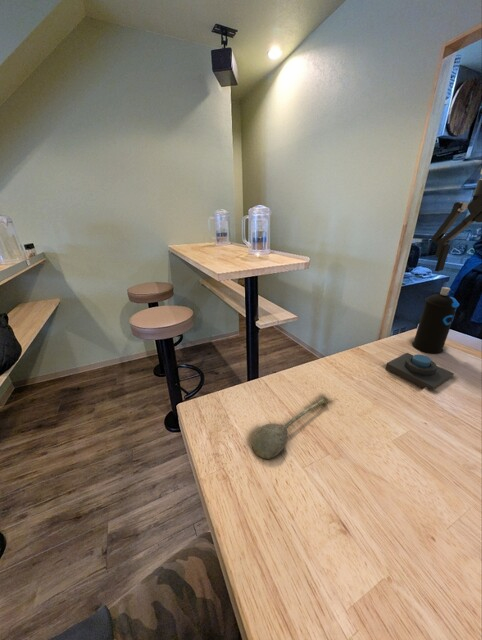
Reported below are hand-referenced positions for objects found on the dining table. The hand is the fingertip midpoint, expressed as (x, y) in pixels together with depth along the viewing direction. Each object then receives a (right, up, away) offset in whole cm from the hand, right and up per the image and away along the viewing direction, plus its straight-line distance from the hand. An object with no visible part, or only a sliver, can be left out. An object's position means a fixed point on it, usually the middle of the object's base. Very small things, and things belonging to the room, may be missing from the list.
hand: (467, 275), depth 62 cm
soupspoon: (-44, -34, -7) cm, 57 cm away
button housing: (-8, -26, +7) cm, 28 cm away
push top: (-8, -23, +5) cm, 25 cm away
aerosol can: (+4, -20, +19) cm, 28 cm away
